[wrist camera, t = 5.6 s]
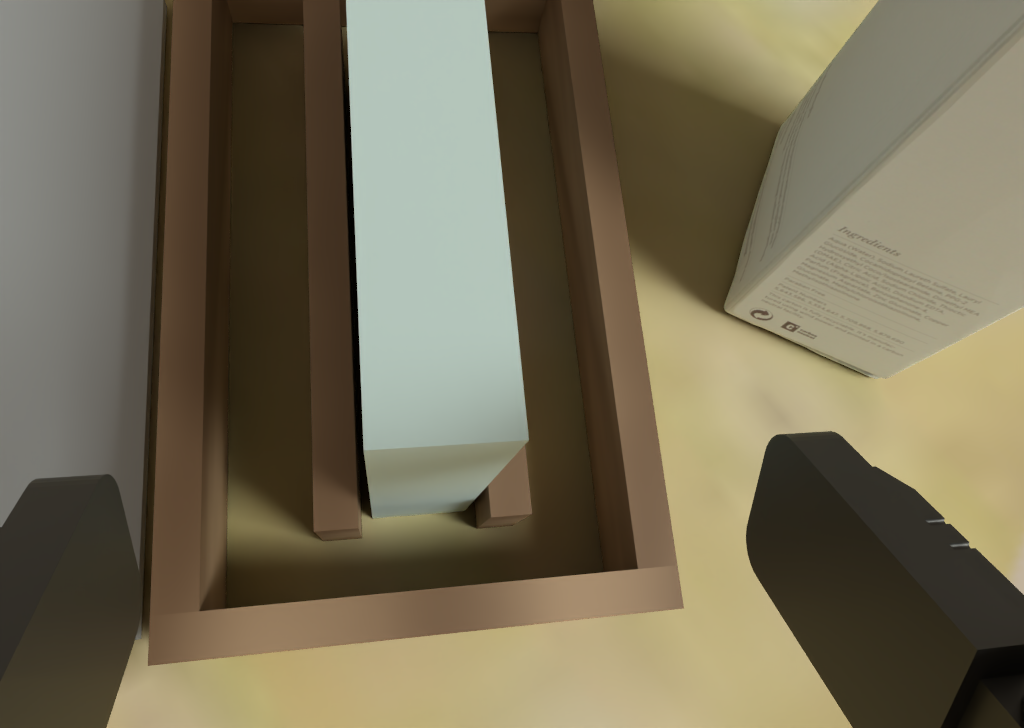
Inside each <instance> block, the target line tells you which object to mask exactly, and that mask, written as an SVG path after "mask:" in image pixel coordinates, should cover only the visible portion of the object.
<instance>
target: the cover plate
mask: <svg viewBox="0 0 1024 728" xmlns="http://www.w3.org/2000/svg"><path fill="white" fill-rule="evenodd" d="M346 14H347V40H348V65H349V91H350V116H351V142H352V167H353V193H354V218H355V244H356V270H357V295H358V321H359V346H360V372H361V397H362V423H363V448H364V457H365V465H366V473H367V480H368V488H369V495H370V503H371V510H372V518H384V517H397V516H410V515H422V514H435V513H448V512H461V511H465V510H466V509H467V508H468V507H469V505H470V504H471V503H472V502H473V501H474V500H475V499H476V498H477V497H478V496H479V494H480V493H481V492H482V491H483V490H484V489H485V488H486V487H487V486H488V485H489V484H490V482H491V481H492V480H493V479H494V478H495V477H496V476H497V475H498V474H499V473H500V471H501V470H502V469H503V468H504V467H505V466H506V465H507V464H508V463H509V462H510V460H511V459H512V458H513V457H514V456H515V455H516V454H517V453H518V452H519V451H520V449H521V448H522V447H523V446H524V445H525V444H526V443H527V442H528V441H529V436H528V426H527V416H526V406H525V396H524V386H523V376H522V366H521V357H520V347H519V337H518V327H517V317H516V307H515V297H514V287H513V278H512V268H511V258H510V248H509V238H508V228H507V218H506V208H505V198H504V189H503V179H502V169H501V159H500V149H499V139H498V129H497V119H496V110H495V100H494V90H493V80H492V70H491V60H490V50H489V40H488V30H487V21H486V11H485V1H484V0H346Z"/></svg>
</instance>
